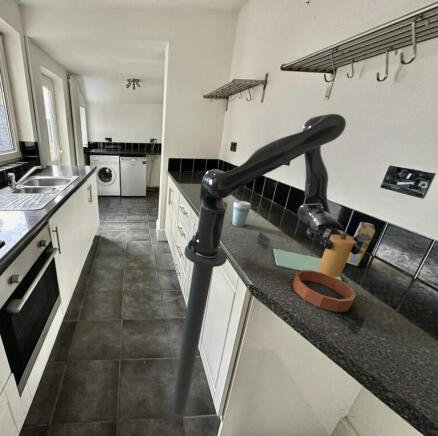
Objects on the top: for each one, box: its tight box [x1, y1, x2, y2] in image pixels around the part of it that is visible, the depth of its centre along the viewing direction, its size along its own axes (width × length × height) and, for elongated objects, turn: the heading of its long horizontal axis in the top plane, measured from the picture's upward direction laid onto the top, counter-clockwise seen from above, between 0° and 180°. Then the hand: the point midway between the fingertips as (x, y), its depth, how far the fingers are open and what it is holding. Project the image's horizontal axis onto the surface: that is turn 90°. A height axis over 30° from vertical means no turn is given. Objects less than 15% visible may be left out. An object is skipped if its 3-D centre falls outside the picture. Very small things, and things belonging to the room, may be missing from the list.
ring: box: [292, 270, 357, 313], centre depth 71 cm, size 15×15×4 cm
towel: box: [272, 248, 343, 281], centre depth 88 cm, size 20×14×1 cm
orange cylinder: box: [318, 232, 355, 277], centre depth 66 cm, size 5×5×12 cm
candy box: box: [346, 221, 376, 267], centre depth 90 cm, size 9×4×15 cm, turn 140°
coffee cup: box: [231, 200, 252, 227], centre depth 120 cm, size 8×9×12 cm
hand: (343, 248), depth 63 cm, fingers closed on orange cylinder, 5 cm apart
